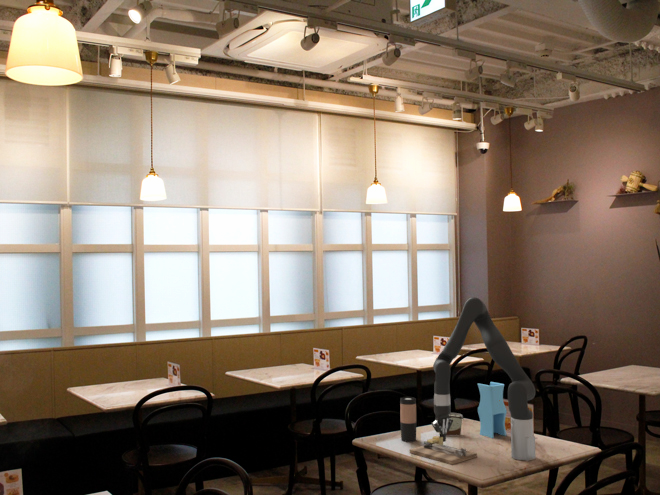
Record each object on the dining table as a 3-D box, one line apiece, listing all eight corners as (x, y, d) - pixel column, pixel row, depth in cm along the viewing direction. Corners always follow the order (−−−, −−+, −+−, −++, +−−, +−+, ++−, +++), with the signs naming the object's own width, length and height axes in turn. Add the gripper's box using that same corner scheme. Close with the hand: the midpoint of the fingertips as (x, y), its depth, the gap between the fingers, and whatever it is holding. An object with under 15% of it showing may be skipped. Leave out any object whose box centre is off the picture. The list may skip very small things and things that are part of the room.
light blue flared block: (492, 431, 331) (491, 381, 332) (507, 435, 322) (506, 384, 323) (478, 434, 326) (477, 383, 327) (492, 438, 317) (491, 386, 318)
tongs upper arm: (462, 452, 282) (462, 450, 282) (458, 453, 281) (459, 451, 281) (427, 443, 298) (427, 440, 298) (423, 444, 296) (423, 441, 296)
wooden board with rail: (476, 456, 285) (476, 446, 286) (451, 464, 274) (451, 454, 275) (434, 446, 304) (434, 436, 304) (409, 452, 293) (409, 443, 293)
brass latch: (443, 446, 297) (443, 437, 297) (432, 448, 293) (432, 439, 293) (437, 444, 300) (436, 435, 300) (426, 447, 296) (426, 438, 296)
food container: (462, 432, 329) (462, 412, 329) (463, 435, 323) (463, 415, 323) (437, 432, 330) (437, 412, 331) (438, 435, 324) (438, 414, 324)
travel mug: (398, 440, 314) (397, 398, 315) (403, 437, 321) (403, 396, 322) (413, 442, 311) (413, 400, 311) (418, 438, 317) (418, 397, 318)
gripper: (445, 400, 308) (446, 437, 307) (426, 404, 300) (427, 442, 299) (457, 402, 302) (458, 440, 302) (438, 406, 294) (439, 445, 293)
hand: (442, 441), depth 300 cm, fingers closed
